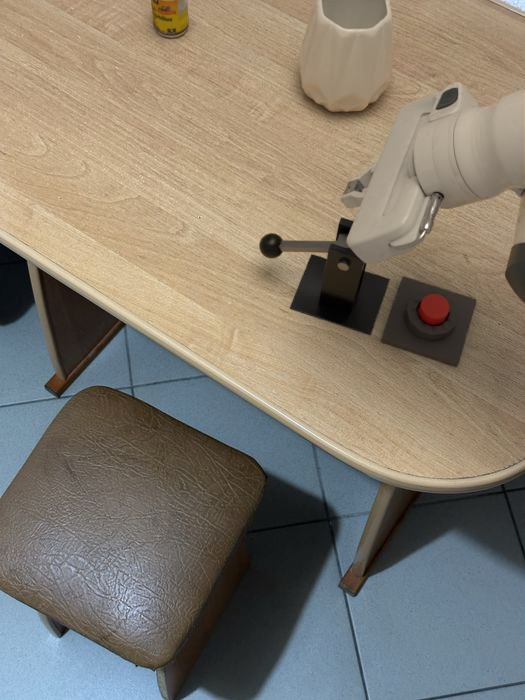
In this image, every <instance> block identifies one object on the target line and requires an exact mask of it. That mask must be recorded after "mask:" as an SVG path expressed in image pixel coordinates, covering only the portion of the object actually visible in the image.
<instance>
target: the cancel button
mask: <svg viewBox="0 0 525 700" xmlns="http://www.w3.org/2000/svg"><path fill="white" fill-rule="evenodd" d="M449 309H450V307H449V303H448V301H447V300H446V299H445V298H444V297H443V296H441V295H438V294H430V295H427V296H426V297H424V298H423V300H422V302H421V304H420V307H419V310H418V313H419V316H420V318H421V319H422V321H424V322H425V323H427V324H429V325H438V324H441V323H442V322H444V320H445V319H446V317H447V315H448V313H449Z"/></svg>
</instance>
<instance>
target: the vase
mask: <svg viewBox="0 0 525 700" xmlns="http://www.w3.org/2000/svg"><path fill="white" fill-rule="evenodd" d="M391 8H392V7H391V1H390V0H315V1H314V3H313V6H312V10H311V12H310V16H309V20H308V23H307V27H306V29H305V33H304V36H303V40H302V44H301V49H300V52H299V55H298V66H299V73H300V82H301V88H302V90H303V92H304V94H305V95H306V96H307V97H308V98H310V99H312V101H314V102H315V103H316V104H317V105H320V106H322V107H324V108H325V109H326V110H328V111H329V112H331V113H332V112H347V113H348V112H361V111H363V110H364V109H366V108H367V107H368V106H369V104H372V103H375V102H377V101H378V99H379V98H380V96H381V94H382V93H383V92H385V91H386V90H387V89H388V88H389V87H390V84H391V80H392V72H393V64H394V58H395V51H394V50H395V49H394V19H393V12H392V9H391Z"/></svg>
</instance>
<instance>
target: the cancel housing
mask: <svg viewBox="0 0 525 700" xmlns="http://www.w3.org/2000/svg"><path fill="white" fill-rule="evenodd" d="M430 294H438V295H441V296H443V297H444V298H445V299H446V300H447V301H448V303H449V307H450V309H449V313H448V315H447V317H446V319H445V320H444V322H442V323H441V324H438V325H429V324H427V323H425V322H424V321H422V319H421V318H420V316H419V313H418V310H419V307H420V304H421V302H422V300H423V298H424V297H426V296H427V295H430ZM476 304H477V299H476V298H473V297H472V296H471V297H470V296H467V295H465V294H461V293H457V292H455V291H451V290H448V289H446V288H442V287H439V286H436V285H433V284H430V283H426V282H425V281H421V280H417V279H415V278H411V277H407V276H405V275H402V277H401V281H400V283H399V287H398V290H397V292H396V295H395V298H394V302H393V304H392V307H391V310H390V313H389V316H388V318H387V322H386V325H385V328H384V331H383V333H382V337H381V339H380V343H381V344H384V345H387V346H390V347H393V348H396V349H399V350H402V351H406V352H409V353H411V354H414V355H417V356H420V357H422V358H423V357H424V358H426V359H430V360H432V361H435V362H439V363H440V364H441V363H442V364H444V365H448V366H449V367H454V368H457V367H458V365H459V363H460V359H461V356H462V353H463V349H464V344H465V343H466V338H467V335H468V331H469V328H470V324H471V321H472V318H473V313H474V310H475V306H476Z"/></svg>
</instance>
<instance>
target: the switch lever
mask: <svg viewBox="0 0 525 700" xmlns="http://www.w3.org/2000/svg"><path fill="white" fill-rule="evenodd" d="M347 237H348V234H340V235H339V237H338V240H337V241H335V240H294V239H293V240H292V239H291V240H290V239H287V240H286V239H283V237H282V236H280V235H279V233H278V234H277V233H274V232H269V233H266V234H265V235H263V236H262V237H261V239H260V240H259V244H258V247H259V251H260V253H261V254H262V256H263V257H265V258H266V259H271V260H272V259H276V258H279V257H280V256H281V255H282V254H283V253H322V254H323V253H324V254H328V250H329V247H330V244H331V243H332V244H335V245H338V246H341V247H344V248H348V249H351V248H350V247H349V246H348V244H347Z"/></svg>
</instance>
